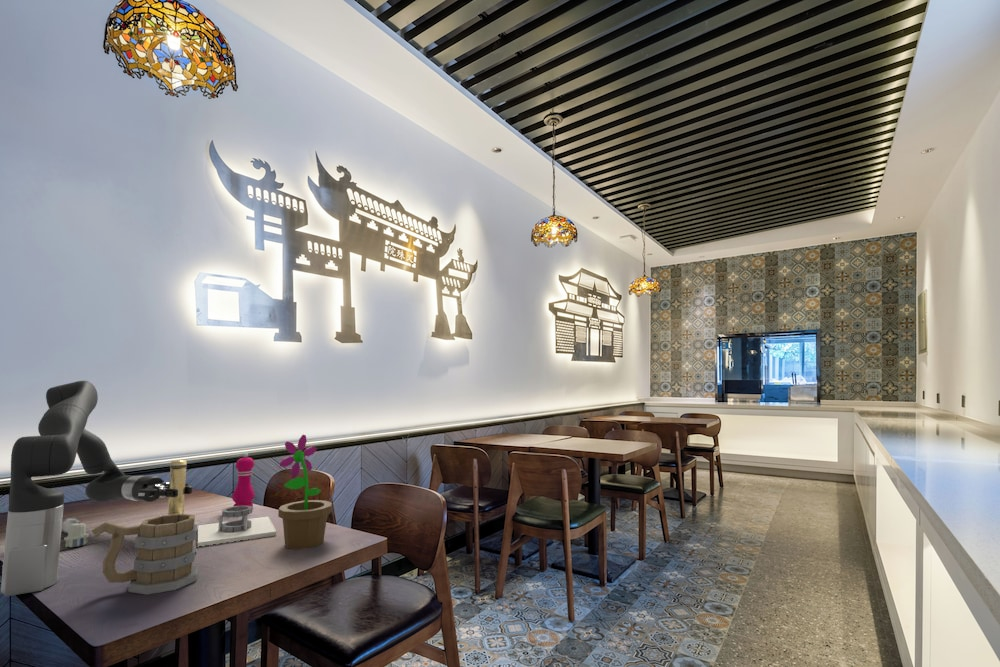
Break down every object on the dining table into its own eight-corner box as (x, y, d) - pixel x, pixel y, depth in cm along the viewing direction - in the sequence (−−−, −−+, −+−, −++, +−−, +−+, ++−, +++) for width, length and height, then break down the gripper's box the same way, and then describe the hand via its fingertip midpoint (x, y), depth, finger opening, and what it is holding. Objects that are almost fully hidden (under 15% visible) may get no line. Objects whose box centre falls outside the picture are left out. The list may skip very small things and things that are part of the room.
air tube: (182, 536, 147) (187, 461, 149) (165, 539, 144) (170, 462, 147) (183, 533, 150) (187, 459, 153) (166, 535, 148) (170, 460, 150)
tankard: (198, 568, 121) (202, 505, 122) (195, 587, 110) (199, 517, 111) (95, 584, 111) (100, 516, 113) (79, 606, 100) (85, 530, 102)
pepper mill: (229, 511, 175) (232, 454, 177) (234, 507, 182) (237, 452, 184) (251, 510, 177) (254, 453, 179) (255, 505, 184) (258, 451, 186)
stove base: (276, 535, 147) (277, 511, 148) (197, 547, 137) (199, 521, 138) (268, 520, 164) (269, 498, 165) (197, 529, 154) (199, 506, 155)
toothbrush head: (80, 515, 157) (91, 519, 140) (79, 538, 156) (89, 544, 139) (58, 519, 153) (66, 522, 136) (56, 541, 152) (65, 548, 135)
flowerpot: (309, 532, 150) (312, 432, 153) (342, 540, 142) (344, 434, 146) (265, 546, 138) (270, 436, 141) (299, 554, 130) (303, 439, 133)
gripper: (120, 480, 147) (162, 483, 141) (165, 472, 160) (205, 474, 155) (118, 506, 146) (160, 510, 141) (164, 495, 160) (204, 499, 154)
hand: (183, 491), depth 148 cm, fingers closed on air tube, 4 cm apart
